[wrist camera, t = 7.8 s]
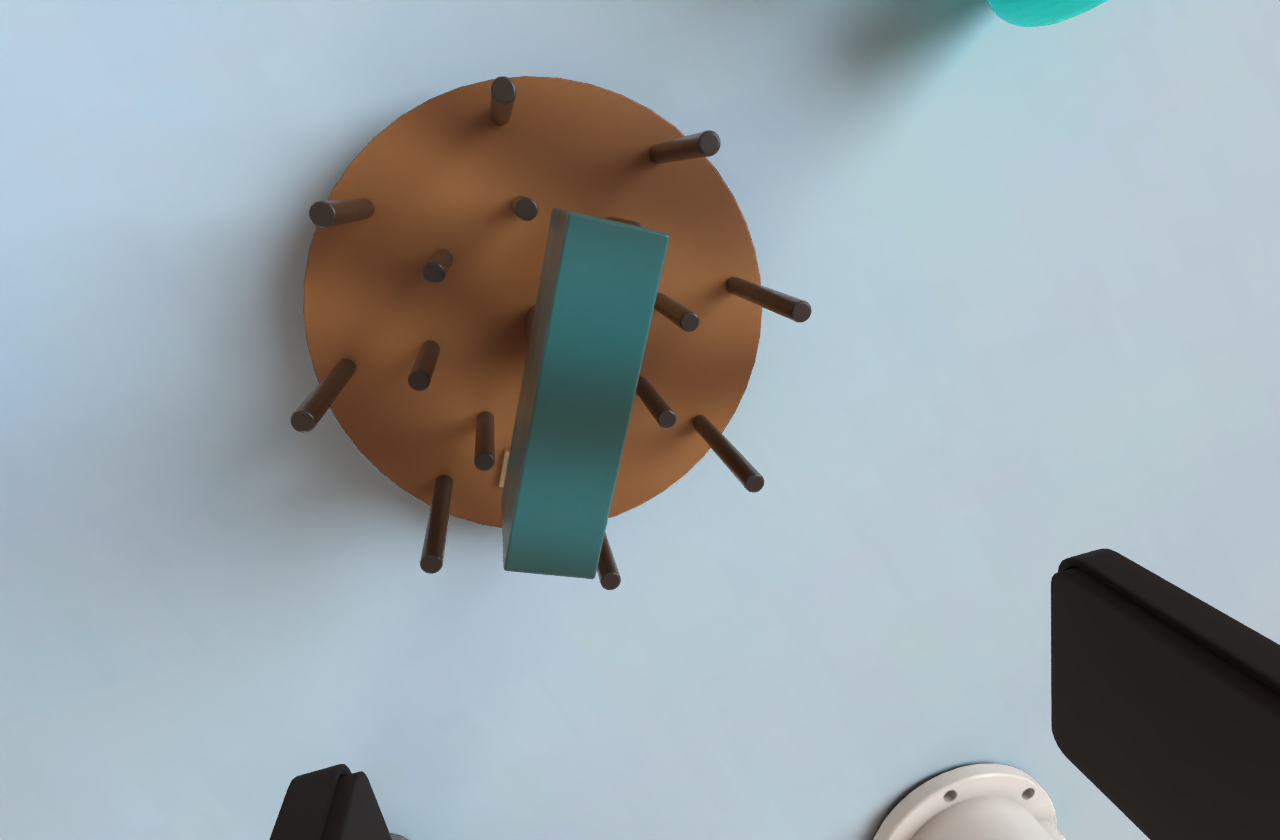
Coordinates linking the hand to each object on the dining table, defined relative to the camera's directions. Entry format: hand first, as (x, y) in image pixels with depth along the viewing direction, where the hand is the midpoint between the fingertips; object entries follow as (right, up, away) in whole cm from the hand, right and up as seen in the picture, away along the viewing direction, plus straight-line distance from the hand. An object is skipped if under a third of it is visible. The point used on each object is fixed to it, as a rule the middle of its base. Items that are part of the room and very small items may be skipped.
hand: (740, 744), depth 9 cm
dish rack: (-5, +8, +20) cm, 22 cm away
